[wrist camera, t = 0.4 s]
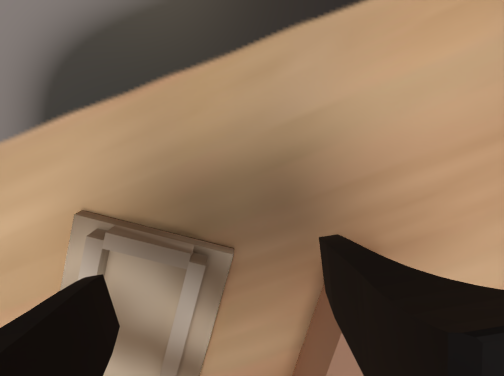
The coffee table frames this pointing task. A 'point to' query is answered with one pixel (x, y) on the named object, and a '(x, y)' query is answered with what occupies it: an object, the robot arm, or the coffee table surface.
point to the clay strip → (325, 346)
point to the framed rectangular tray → (151, 291)
